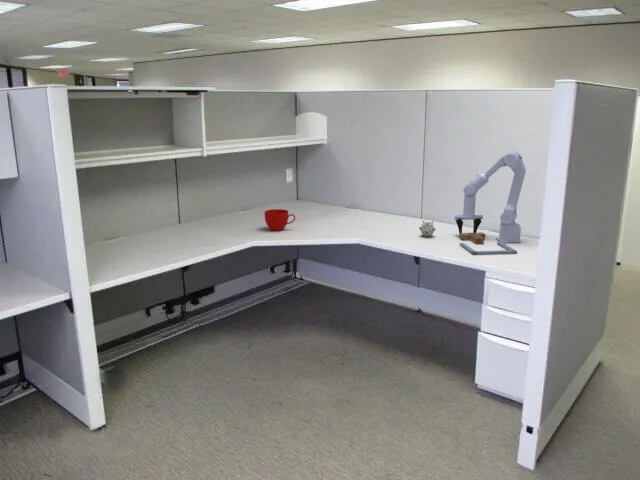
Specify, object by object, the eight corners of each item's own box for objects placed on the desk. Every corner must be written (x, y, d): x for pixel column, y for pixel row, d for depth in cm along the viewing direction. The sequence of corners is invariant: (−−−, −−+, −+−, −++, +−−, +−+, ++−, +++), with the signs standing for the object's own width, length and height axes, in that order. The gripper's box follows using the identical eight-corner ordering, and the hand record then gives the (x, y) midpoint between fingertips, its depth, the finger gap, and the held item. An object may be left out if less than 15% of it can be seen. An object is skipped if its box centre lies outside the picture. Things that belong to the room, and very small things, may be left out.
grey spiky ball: (429, 242, 283) (440, 227, 283) (428, 240, 275) (440, 224, 274) (415, 233, 286) (426, 217, 285) (413, 230, 277) (425, 214, 277)
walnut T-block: (481, 238, 278) (482, 232, 277) (491, 244, 266) (491, 238, 266) (459, 238, 277) (459, 233, 276) (467, 244, 265) (468, 238, 264)
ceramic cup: (292, 233, 288) (292, 214, 285) (261, 231, 291) (261, 213, 288) (298, 227, 300) (298, 210, 297) (268, 226, 303) (268, 208, 301)
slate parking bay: (501, 244, 266) (501, 241, 266) (516, 253, 249) (517, 251, 249) (459, 245, 264) (459, 243, 263) (472, 255, 247) (472, 252, 247)
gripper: (479, 205, 282) (478, 231, 286) (452, 206, 281) (451, 231, 284) (485, 208, 276) (483, 234, 279) (457, 208, 274) (455, 234, 278)
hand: (467, 233), depth 281 cm, fingers open, 7 cm apart
